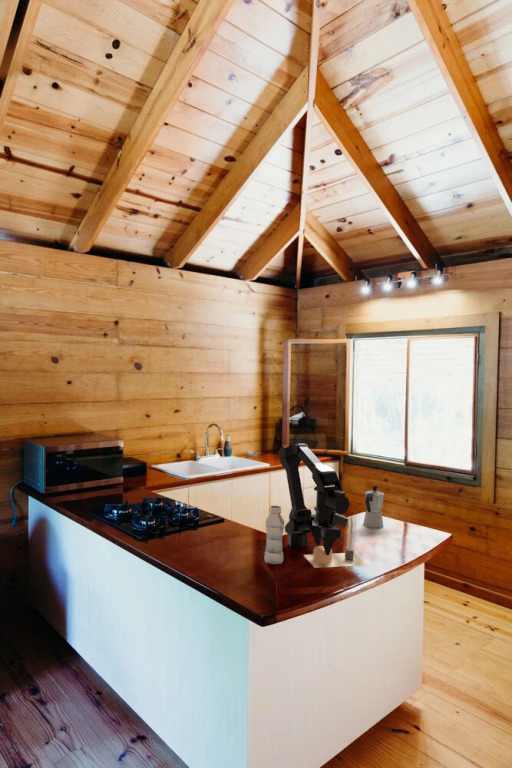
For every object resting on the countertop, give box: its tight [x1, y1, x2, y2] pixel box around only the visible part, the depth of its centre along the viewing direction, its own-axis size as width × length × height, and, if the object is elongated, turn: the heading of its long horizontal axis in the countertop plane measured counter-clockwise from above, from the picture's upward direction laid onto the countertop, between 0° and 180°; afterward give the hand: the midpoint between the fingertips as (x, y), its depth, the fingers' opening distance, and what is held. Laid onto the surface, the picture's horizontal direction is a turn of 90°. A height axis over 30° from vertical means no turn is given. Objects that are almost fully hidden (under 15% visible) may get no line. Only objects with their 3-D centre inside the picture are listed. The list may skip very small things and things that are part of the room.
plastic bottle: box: [263, 505, 285, 565], centre depth 172 cm, size 6×7×20 cm
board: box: [303, 548, 370, 569], centre depth 175 cm, size 20×12×5 cm, turn 103°
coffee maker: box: [363, 484, 385, 529], centre depth 223 cm, size 15×9×18 cm, turn 144°
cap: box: [312, 545, 333, 564], centre depth 174 cm, size 6×6×4 cm
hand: (322, 550), depth 174 cm, fingers open, 9 cm apart
